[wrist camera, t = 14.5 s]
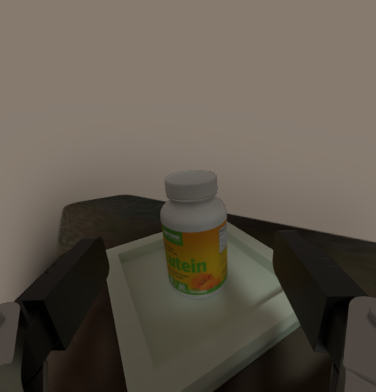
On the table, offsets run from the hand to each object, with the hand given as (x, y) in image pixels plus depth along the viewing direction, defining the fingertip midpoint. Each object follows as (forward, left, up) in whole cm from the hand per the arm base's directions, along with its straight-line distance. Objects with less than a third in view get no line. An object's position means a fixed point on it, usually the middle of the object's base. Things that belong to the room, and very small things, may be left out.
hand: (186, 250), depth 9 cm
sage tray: (-4, -6, -9) cm, 11 cm away
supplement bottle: (-4, -6, -8) cm, 11 cm away
